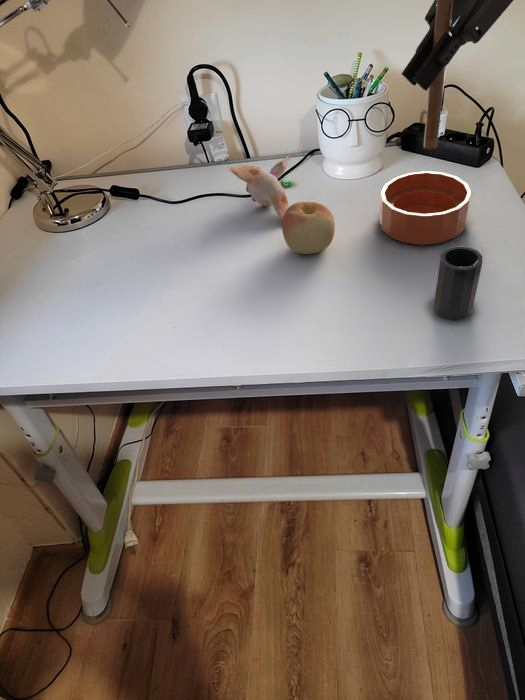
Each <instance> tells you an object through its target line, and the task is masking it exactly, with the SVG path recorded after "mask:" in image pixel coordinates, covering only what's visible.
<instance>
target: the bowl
mask: <svg viewBox="0 0 525 700" xmlns="http://www.w3.org/2000/svg"><path fill="white" fill-rule="evenodd" d="M472 194H473V192H472V189H471V188H470V185H469V184H468V183H467V182H466V181H464V180H463V179H461V178H459V177H458V176H456V175H452V174H449V173H446V172H441V171H427V170H426V171H425V170H424V171H415V172H407V173H405V174H402V175H399V176H396V177H394V178H393V179H391V180H389V181H388V182H386V183H385V184H384V185H383V187H382V189H381V191H380V194H379V224H380V228H381V230H382V231H383V232H384V233H385V234H386V235H388V236H389V237H390V238H392V239H394V240H396V241H400V242H402V243H405V244H411V245H412V244H413V245H420V246H421V245H422V246H423V245H434V244H441V243H443V242H447V241H450V240H452V239H455V238H456V237H457V236H458V235H460V234H461V233H462V232H463V231H464V230H465V229H466V225H467V223H468V217H469V211H470V205H471V199H472Z"/></svg>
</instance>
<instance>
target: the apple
mask: <svg viewBox="0 0 525 700" xmlns="http://www.w3.org/2000/svg"><path fill="white" fill-rule="evenodd" d="M335 225H336V224H335V218H334V215H333V214H332V212H331V210H330V209H329V208H328V207H327V206H325V205H323V204H322V203H319V202H316V201H300V202H299V201H297V202H295V203H293V204H291V205H289V208H288V209H287V210H286V212H285V214H284V216H283V220H282V219H281V231H282V235H283V238H284V241H285V243H286V245H287V246H288V248H289V249H290V250H291V251H293V252H294V253H297V254H305V255H309V254H311V255H312V254H316V253H319V252H322V251H324V250H326V249H327V248H328V247H329V246H330V245H331V244H332V242H333V240H334V236H335V230H336V226H335Z"/></svg>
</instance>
